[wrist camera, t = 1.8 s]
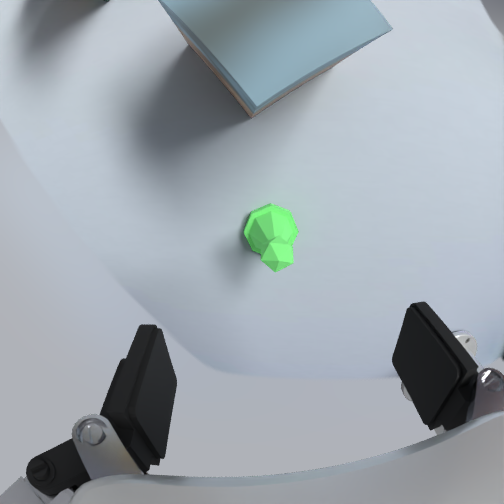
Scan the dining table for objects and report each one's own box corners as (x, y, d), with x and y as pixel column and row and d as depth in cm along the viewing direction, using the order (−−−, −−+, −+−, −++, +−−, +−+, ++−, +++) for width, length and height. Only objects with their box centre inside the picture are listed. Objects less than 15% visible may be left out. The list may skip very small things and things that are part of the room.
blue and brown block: (334, 65, 19) (393, 29, 9) (251, 118, 20) (256, 106, 11) (272, -6, 16) (289, -76, 7) (188, 44, 18) (151, -10, 8)
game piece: (297, 202, 23) (314, 226, 17) (296, 252, 25) (310, 288, 19) (243, 204, 23) (242, 228, 17) (244, 254, 25) (245, 291, 19)
